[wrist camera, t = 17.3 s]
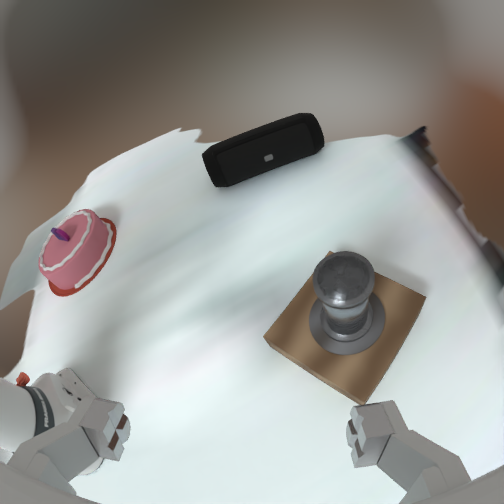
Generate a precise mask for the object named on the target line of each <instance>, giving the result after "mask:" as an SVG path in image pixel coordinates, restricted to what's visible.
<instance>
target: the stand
mask: <svg viewBox="0 0 504 504" xmlns="http://www.w3.org/2000/svg"><path fill="white" fill-rule="evenodd" d="M331 254H333V252H331V251H329V252H328V254H327V255H326V256H325V257H327V256H329V255H331ZM313 273H314V272H313ZM374 274H375V283H374V288H373V291H372V293H371V295H370V296H369V303H370V304H371V306H372V310H373V321H372V325H371V327H370V329H369V331H368V332H367V333H366V334H365V335H364V336H363V337H362V338H360V339H358V340H356V341H353V342H347V343H344V342H338V341H335V340H333V339H332V338H330V337H329V336H328V335H327V334H326V333H325V332H324V330H323V328H322V325H321V320H320V314H321V310H322V307H323V304H322V301H321V300H320V299H319V298H318V297H317V295H316V293H315V290H314V287H313V274H312V275H311V276H310V278H309V279H308V280H307V282H306V283H305V284H304V286H303V287H302V288H301V289H300V291H299V292H298V293H297V295H296V296H295V297H294V298H293V300H292V301H291V302H290V304H289V305H288V306H287V307H286V309H285V310H284V311H283V312H282V314H281V315H280V316H279V317H278V319H277V320H276V321H275V322H274V324H273V325H272V326H271V327H270V329H269V330H268V331H267V332H266V334H265V335H264V336H263V337H264V339H265V340H266V341H267V343H268V344H269V345H270V347H272V348H273V349H275V350H276V351H278V352H279V353H280V354H282V355H283V356H285V357H286V358H288V359H289V360H291V361H292V362H294V363H295V364H297V365H298V366H300V367H301V368H303V369H304V370H306V371H307V372H309V373H310V374H312V375H313V376H315V377H316V378H318V379H320V380H321V381H323V382H324V383H326V384H327V385H329V386H330V387H332V388H334V389H335V390H337V391H338V392H340V393H342V394H343V395H345V396H346V397H348V398H350V399H351V400H353V401H355V402H356V403H358V404H359V405H365V403H366V402H367V400H368V399H369V397H370V396H371V395H372V393H373V392H374V390H375V389H376V387H377V386H378V384H379V382H380V381H381V379H382V378H383V376H384V375H385V373H386V371H387V370H388V368H389V367H390V365H391V363H392V362H393V360H394V358H395V357H396V355H397V353H398V352H399V350H400V348H401V347H402V345H403V343H404V341H405V339H406V338H407V336H408V334H409V332H410V330H411V329H412V327H413V325H414V323H415V321H416V319H417V317H418V315H419V313H420V311H421V309H422V307H423V304H424V302H425V299H426V297H425V296H423V295H421V294H419V293H417V292H415V291H413V290H411V289H409V288H407V287H405V286H403V285H401V284H399V283H397V282H395V281H393V280H391V279H388V278H386V277H384V276H382V275H380V274H378V273H376V272H374Z"/></svg>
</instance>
